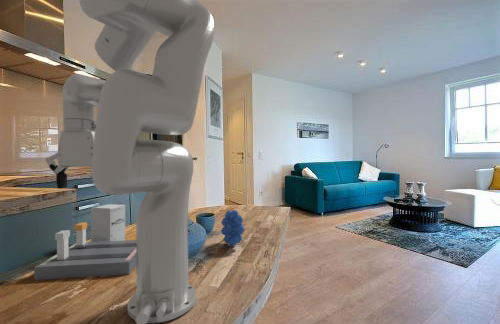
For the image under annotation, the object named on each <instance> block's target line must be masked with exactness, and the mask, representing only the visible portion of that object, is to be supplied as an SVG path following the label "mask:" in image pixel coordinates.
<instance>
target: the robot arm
mask: <svg viewBox="0 0 500 324" xmlns="http://www.w3.org/2000/svg"><path fill="white" fill-rule="evenodd" d="M79 6H80V7H81V8H80V9H81V10H82V12H83V13H84V14H85V16H87V17H88V18H91V19H93V20H94V21H97V22H100V23H102V24H103V25H104V26H103V28H102V29H101V31H100V33H99V35H98V37H97V38H96V40H95V42H94V49H95V50H94V51H95V52H96V54H97V56H98V57H99V58H100V60H102V62H103V63H105V64H106V65H107V66H108V67H109V68H111V69H112V70H113V73H111V74H110V75H109V76H108V77H107V79H106V80H105V79H101V78H96V77H92V76H88V75H84V74H79V73H75V74H71V75H70V76H68V78H66V80H65V82H64V85H63V86H62V114H63V115H62V118H63V121H62V122H63V123H62V124H63V125H62V126H63V128H62V129H63V130H62V131H61V132H60V135H59V139H58V145H57V146H58V147H57V153H55V154H52V155H50V156H49V157H46V158H45V161H46V163H47V165H48V166H49V169H50V170H51V171H53V173H54V174H55V175H56V178H55V179H56V181H55V182H56V188H57V189H64V188H67V187H68V174H67V173H65V172H66V171H68V169H70V168H77V167H79V168H81V167H83V168H85V167H89V168H91V178H92V181H93V184H94V187H95V188H96V189H97V190H98V191H99V192H101V193H102V194H105V195H108V196H122V195H133V194H141V193H145V195H144V196H143V198H142V200H141V202H140V204H139V206H138V209H137V213H136V220H135V221H136V223H135V225H136V235H135V236H136V239H135V240H136V258H137V265H136V292H135V293H134V294H133V295H132V296H131V297H130V298H129V300H128V302H127V307H126V309H127V311H126V312H127V314H128V316H129V317H130V319H132V320H134V321H135V323H136V324H158V323H164V322H168V321H171V320H174V319H176V318H179V317H181V316H183V315H184V314H185V313H187V312H188V311H190V310H191V309H192V308H193V307H194V306H195V304H196V301H197V291H196V288H195V287H194V286H193V285H192V284H190V283H189V203H190V202H189V199H190V191H191V190H190V189H191V183H192V179H193V174H194V160H193V156H192V153H191V152H190V150H188V148H186V147H185V145H183V144H181V143H178V142H174V141H170V140H169V141H167V140H157V139H156V140H155V139H141V138H140V139H138V137H139V135H140V133H147V134H157V135H166V136H181V135H184V134H185V135H186V133H188V132H189V131H190V130H191V128H192V127H193V124H194V122H195V121H194V120H195V117H196V113H197V112H196V111H197V109H198V108H197V107H198V101H199V97H200V91H201V86H202V80H203V74H204V69H205V65H206V62H207V58H208V55H209V53H210V50H211V48H212V44H213V42H214V37H215V21H214V17H213V16H212V13H211V12H210V11H209V9H208V8H207V7H206V6H205V5H204V4H203V3H201V2H200V1H199V0H79ZM157 32H159V33H160V34H162V35H165V36H167V38H165V40H164V41H163V42H162V43H161V44H160V45H159V47H158V49H157V50H156V54H155V57H154V64H153V65H154V66H153V71H152V74H151V75H148V74H147V73H143V72H139V71H136V70H135V67H134V64H135V62H136V61H137V60H138V58H139V57H140V56H141V54H142V53H143V51H144V50H145V48H146V47H147V45H148V44H149V43H150V42H151V40H152V39H153V37H154V36H155V34H156V33H157ZM96 108H97V112H96ZM96 113H97V115H96ZM56 161H57V164H56Z"/></svg>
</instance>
